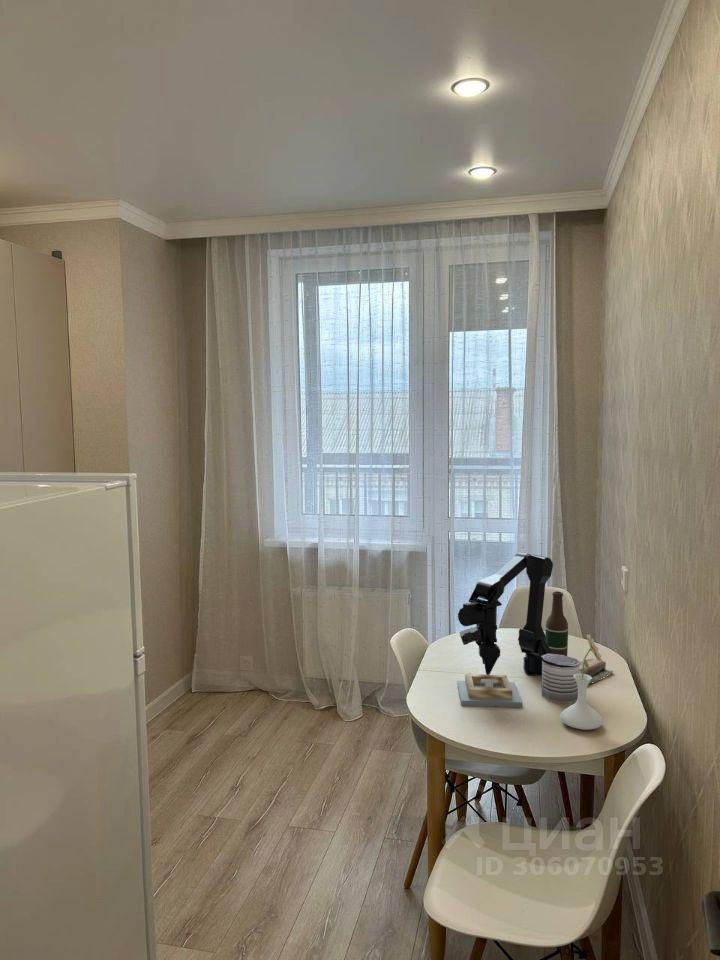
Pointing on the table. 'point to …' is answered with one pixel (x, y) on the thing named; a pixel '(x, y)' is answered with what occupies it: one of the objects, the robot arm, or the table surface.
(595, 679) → the packaged product
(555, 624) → the beer bottle
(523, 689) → the table surface
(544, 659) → the can
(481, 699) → the hook board
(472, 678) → the oak loop
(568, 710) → the flower in vase
